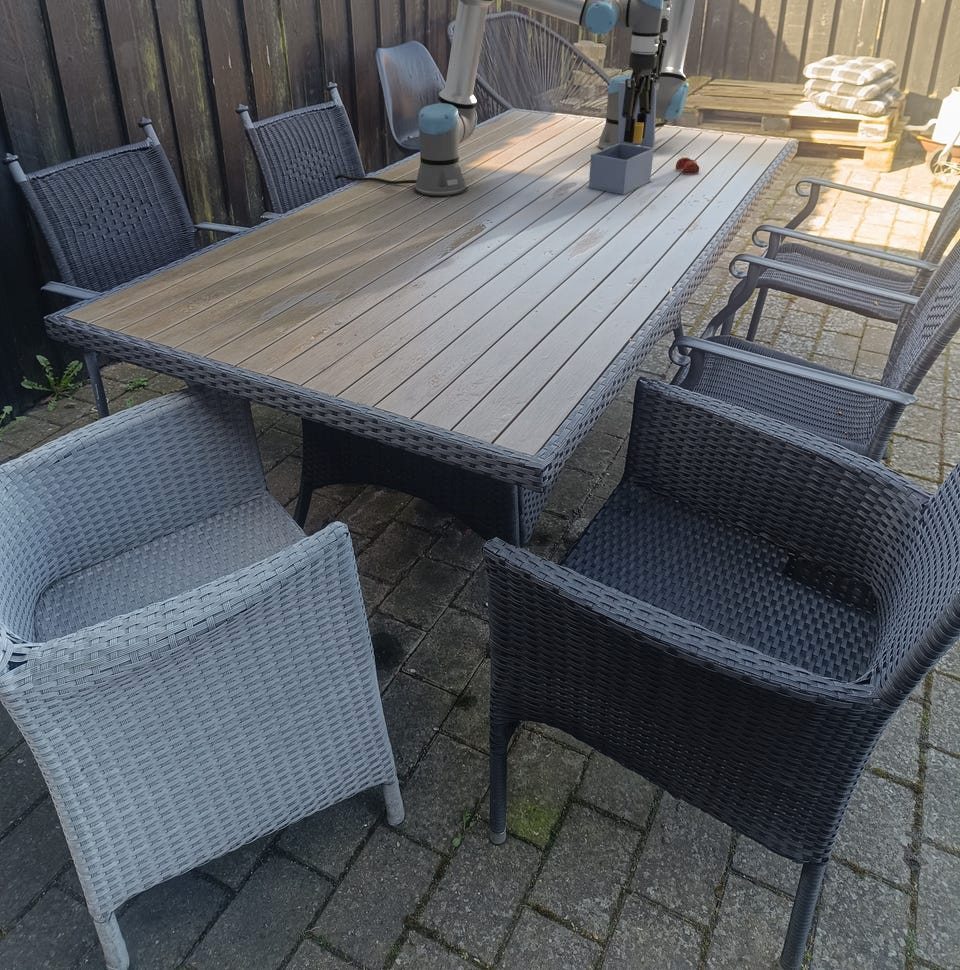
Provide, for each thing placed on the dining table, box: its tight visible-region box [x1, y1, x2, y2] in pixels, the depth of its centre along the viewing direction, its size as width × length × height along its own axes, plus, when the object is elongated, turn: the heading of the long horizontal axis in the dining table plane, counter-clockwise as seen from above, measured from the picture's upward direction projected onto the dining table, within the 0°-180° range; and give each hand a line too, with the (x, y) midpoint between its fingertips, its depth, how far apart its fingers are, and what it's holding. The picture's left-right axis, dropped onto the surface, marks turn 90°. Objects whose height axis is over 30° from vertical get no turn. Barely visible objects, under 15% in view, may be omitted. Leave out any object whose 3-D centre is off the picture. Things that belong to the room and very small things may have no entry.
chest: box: [588, 143, 655, 195], centre depth 260 cm, size 17×12×10 cm
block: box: [633, 122, 644, 143], centre depth 245 cm, size 5×5×5 cm
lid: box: [618, 82, 659, 149], centre depth 258 cm, size 18×12×9 cm
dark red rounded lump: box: [675, 156, 700, 175], centre depth 273 cm, size 6×4×8 cm
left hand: (634, 139), depth 247 cm, fingers closed on block, 6 cm apart
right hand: (647, 103), depth 259 cm, fingers closed on lid, 2 cm apart
